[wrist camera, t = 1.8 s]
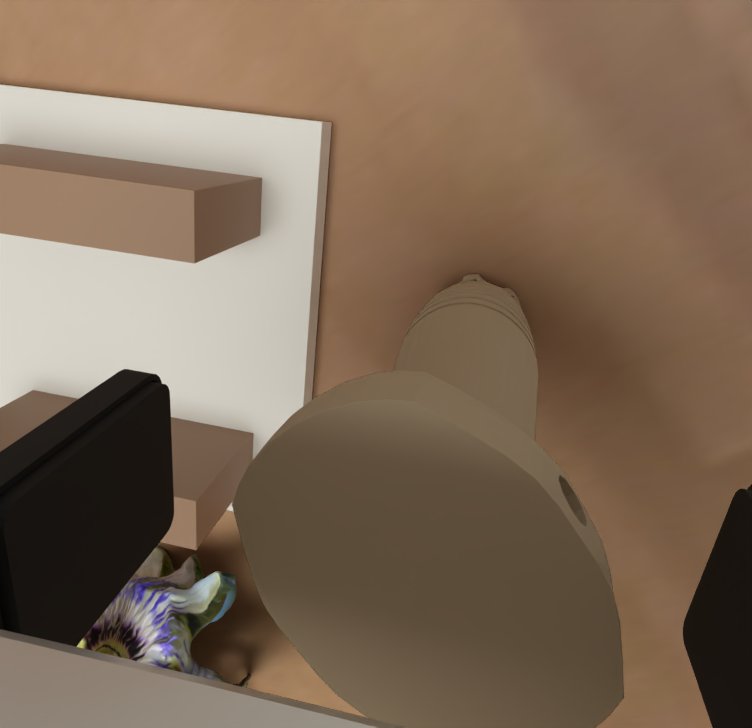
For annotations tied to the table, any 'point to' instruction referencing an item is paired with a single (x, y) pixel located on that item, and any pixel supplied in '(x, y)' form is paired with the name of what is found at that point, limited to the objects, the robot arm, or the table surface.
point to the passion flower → (163, 615)
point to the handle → (437, 536)
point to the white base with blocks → (161, 272)
